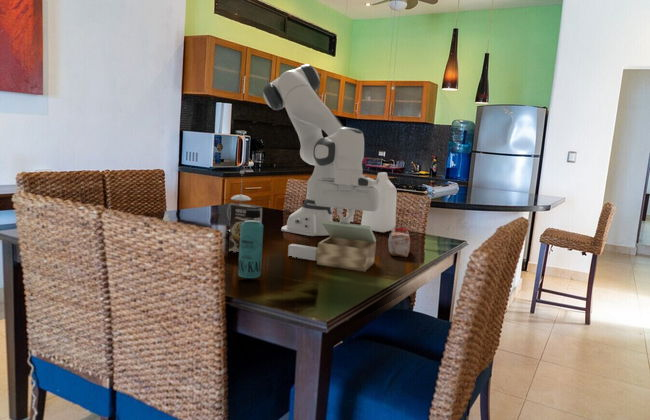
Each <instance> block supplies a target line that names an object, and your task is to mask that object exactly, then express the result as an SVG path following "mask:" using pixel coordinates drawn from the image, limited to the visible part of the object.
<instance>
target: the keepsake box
mask: <svg viewBox="0 0 650 420" xmlns="http://www.w3.org/2000/svg"><path fill="white" fill-rule="evenodd" d="M376 244H377V243H374V242H366V241H359V240H351V239H344V238H336V237H330V236H329V237H326V238H325V239H323V240H320V241H319V242H318V243H317V247H318V252H317V260H316V265H318V266H326V267H332V268H339V269H346V270H352V271H353V270H354V271H357V272H364V273H365V272H366V271H367V270H369V269H370V268H371V266H373V265H374V264H375V255H376Z"/></svg>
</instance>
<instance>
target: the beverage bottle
mask: <svg viewBox="0 0 650 420" xmlns="http://www.w3.org/2000/svg"><path fill="white" fill-rule="evenodd" d="M245 217H248V218H260V210H258V209H246V213H245ZM263 237H264V224H263V223H262V224H261V223H260V222H259V221H253V220H248V221H244V222H243V223H242V224H241V231H240V244H239V245H240V246H239V253H237V255H238V260H237V261H238V262H237V273H238V277H240V278H243V279H256V278H259V277H261V274H262V268H263V267H262V262H263V259H262V258H263V242H264V241H263V240H264V239H263Z"/></svg>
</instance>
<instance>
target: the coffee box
mask: <svg viewBox="0 0 650 420" xmlns="http://www.w3.org/2000/svg"><path fill="white" fill-rule="evenodd" d="M263 208H264V207H263V206H262V205H255V204H247V203H242V202H239V203H236V204H234V203H233V204H232V203H231V204H230V211H231V218H230V217H229V219H230V220H229V229H230V233H229V241H228V242H229V243H228V246H229V247H228V252H230V251H233V252H232V253H236V252H239V246H240V245H239V244H240V231H241V224H242V223H243V222H244V221H248V220H253V221H259V222H260V223H261V224H262V225H263V221H262V220H263V210H264V209H263ZM246 209H258V210H260V218H248V217H245V213H246Z"/></svg>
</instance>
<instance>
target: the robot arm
mask: <svg viewBox="0 0 650 420" xmlns="http://www.w3.org/2000/svg"><path fill="white" fill-rule="evenodd" d="M320 80H321V79H320V75H319V73H318V71H317V70H316V68H315V67H313V66H312V65H311V64H308V63H306V64H302V65H300V66H299V67H296V68H294V69H290V70H286V71H284V72H283V73H282V74H281V75H280V76H279V77H277V78H276V79H274V80H273V81H271V82H268V83H267V84H266V85H264V86H263V89H262V92H263V93H262V94H263V95H262V96H263V99H264V102H265V103H266V105H268V107H270V108H271V109H272V110H273V111H280V110H283V109H284V108H285V110H286V112H287V115H288V118H289V119H290V122H291V123H292V125H293V128H294V130H295V132H296V133H297V135H298V140H299V142H300V150H299V155H300V158H301V159H302V161H304V162H305V163H307V164H308V165H311V166H314V169H313V172H312V174H311V176H310V177H309V178H308V179H307V185H306V186H307V188H306V198H304V199H302V200H301V201H300V204H302V205H301V207H300V208H299V209H297V210H296V211H294V212H292V213H291V214H290V215H289V216H288V219H287V221H286V225H284V226H282V227H281V229H280V231H281V232H286V233H293V234H297V235H298V234H299V235H301V236H302V235H303V236H308V237H309V236H310V237H315V236H316V237H317V236H330V235H329V234H328V232H327V231H326V229H325V228H324V226H323V225H322V220H324V221H332V222H334V221H333V213H334V208H336V213H337V214H338V217H339V222H340V223H348V224H351V218H352V216H353V215H354V214H355V211H363V210H364V211H376V210H377V209H378V191H377V189H376V188H374V187H375V186H376V179H373V178H372V177H371V178H370V177H368V176H366V175H364V174H363V171H364V169H363V161H364V159H365V137H364V133H363V131H362V130H360V129H358V128H353V127H348V126H344V125H343V123H342V122H341V121H340V119H339V118H338V117H337V116H336V114H335V113H334V112H332V110H331V109H330V108H329V107H328V106H327V105H326V104H325V103H324V101H322V100H321V98H319V96H318V94H316V91H317V90H318V89H319V88H320V85H321V82H320ZM322 131H324V133H325V134H326V135H327V136H326V137H324V136H323V132H322ZM344 209H346V210H347V213H348V215H347V217H345V216H344V215H343V212H344Z"/></svg>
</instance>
